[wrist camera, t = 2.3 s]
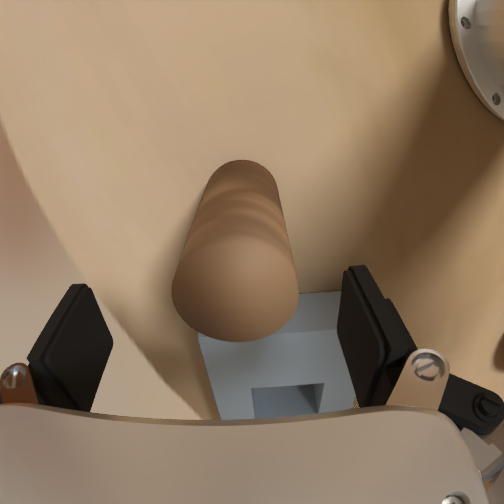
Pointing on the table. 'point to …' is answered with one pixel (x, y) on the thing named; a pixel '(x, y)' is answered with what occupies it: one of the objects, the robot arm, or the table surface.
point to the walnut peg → (237, 259)
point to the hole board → (283, 366)
